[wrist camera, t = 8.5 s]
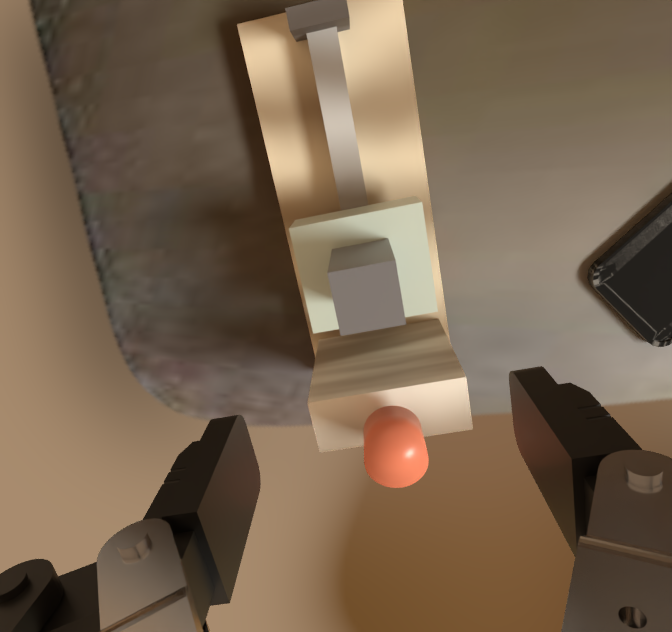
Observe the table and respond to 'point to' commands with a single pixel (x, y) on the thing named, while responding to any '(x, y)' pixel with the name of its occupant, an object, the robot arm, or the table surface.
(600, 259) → the phone
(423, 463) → the button
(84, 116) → the table surface
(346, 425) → the rail base
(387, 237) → the block
